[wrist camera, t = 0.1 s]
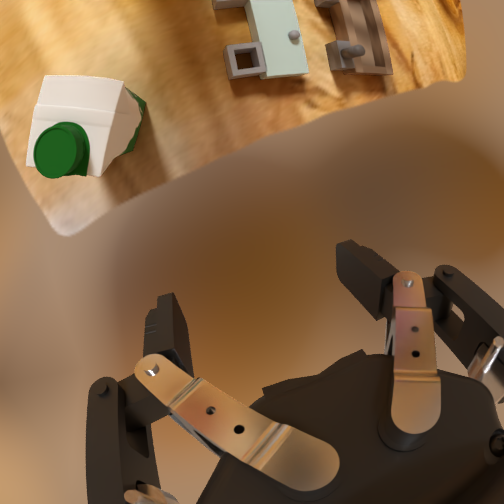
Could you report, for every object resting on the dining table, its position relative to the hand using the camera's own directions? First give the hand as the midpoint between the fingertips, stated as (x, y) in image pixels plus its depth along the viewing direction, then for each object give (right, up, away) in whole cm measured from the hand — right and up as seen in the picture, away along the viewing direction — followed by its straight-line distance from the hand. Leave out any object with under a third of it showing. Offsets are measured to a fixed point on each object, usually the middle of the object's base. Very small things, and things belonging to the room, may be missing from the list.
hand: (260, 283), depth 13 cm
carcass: (+15, +38, +19) cm, 45 cm away
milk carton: (-19, +19, +19) cm, 33 cm away
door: (0, +34, +17) cm, 38 cm away
